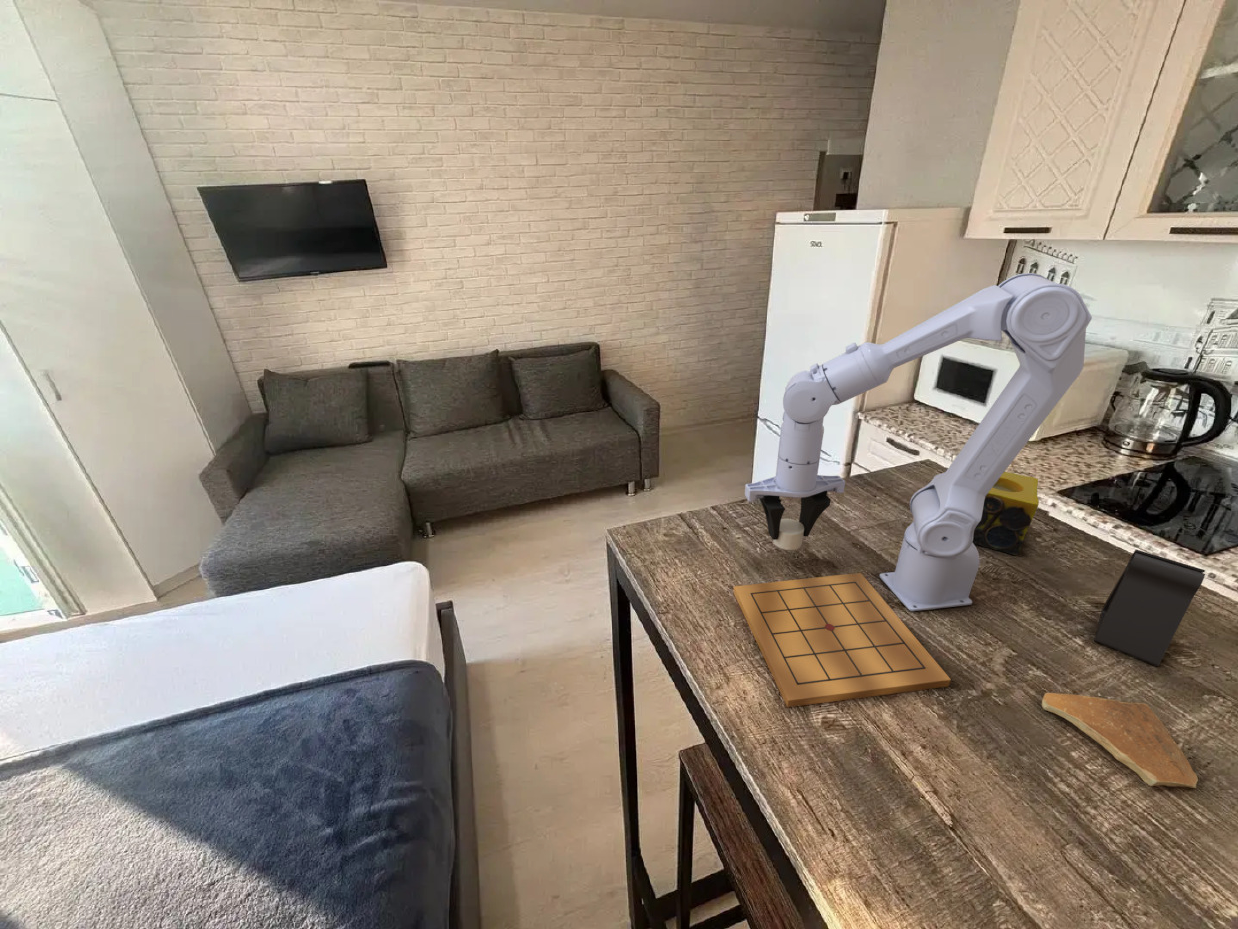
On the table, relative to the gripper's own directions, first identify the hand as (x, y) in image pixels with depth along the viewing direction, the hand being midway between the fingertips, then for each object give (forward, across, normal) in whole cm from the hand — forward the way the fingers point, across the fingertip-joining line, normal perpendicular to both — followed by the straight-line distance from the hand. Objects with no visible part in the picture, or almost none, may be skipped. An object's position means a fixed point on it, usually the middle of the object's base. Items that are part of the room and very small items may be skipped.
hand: (788, 534), depth 79 cm
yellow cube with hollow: (+6, -37, -3) cm, 38 cm away
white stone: (+1, 0, 0) cm, 1 cm away
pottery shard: (+6, -22, +34) cm, 41 cm away
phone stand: (+6, -38, +21) cm, 44 cm away
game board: (+6, 0, +15) cm, 16 cm away
